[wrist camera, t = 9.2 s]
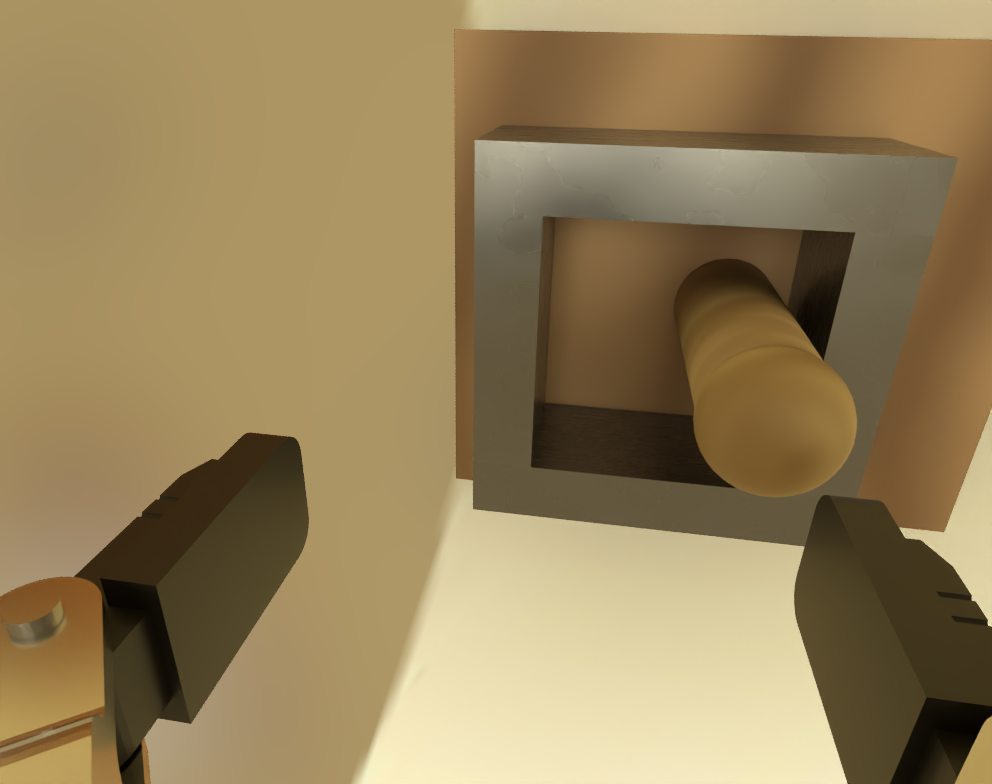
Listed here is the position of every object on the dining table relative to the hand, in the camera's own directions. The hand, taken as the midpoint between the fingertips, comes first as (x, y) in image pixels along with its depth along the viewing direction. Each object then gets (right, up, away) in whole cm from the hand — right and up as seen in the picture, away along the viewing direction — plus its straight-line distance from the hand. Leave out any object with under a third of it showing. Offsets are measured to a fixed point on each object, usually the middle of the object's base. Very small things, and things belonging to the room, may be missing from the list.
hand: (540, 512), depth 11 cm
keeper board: (+6, +5, +11) cm, 13 cm away
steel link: (+4, +4, +10) cm, 11 cm away
